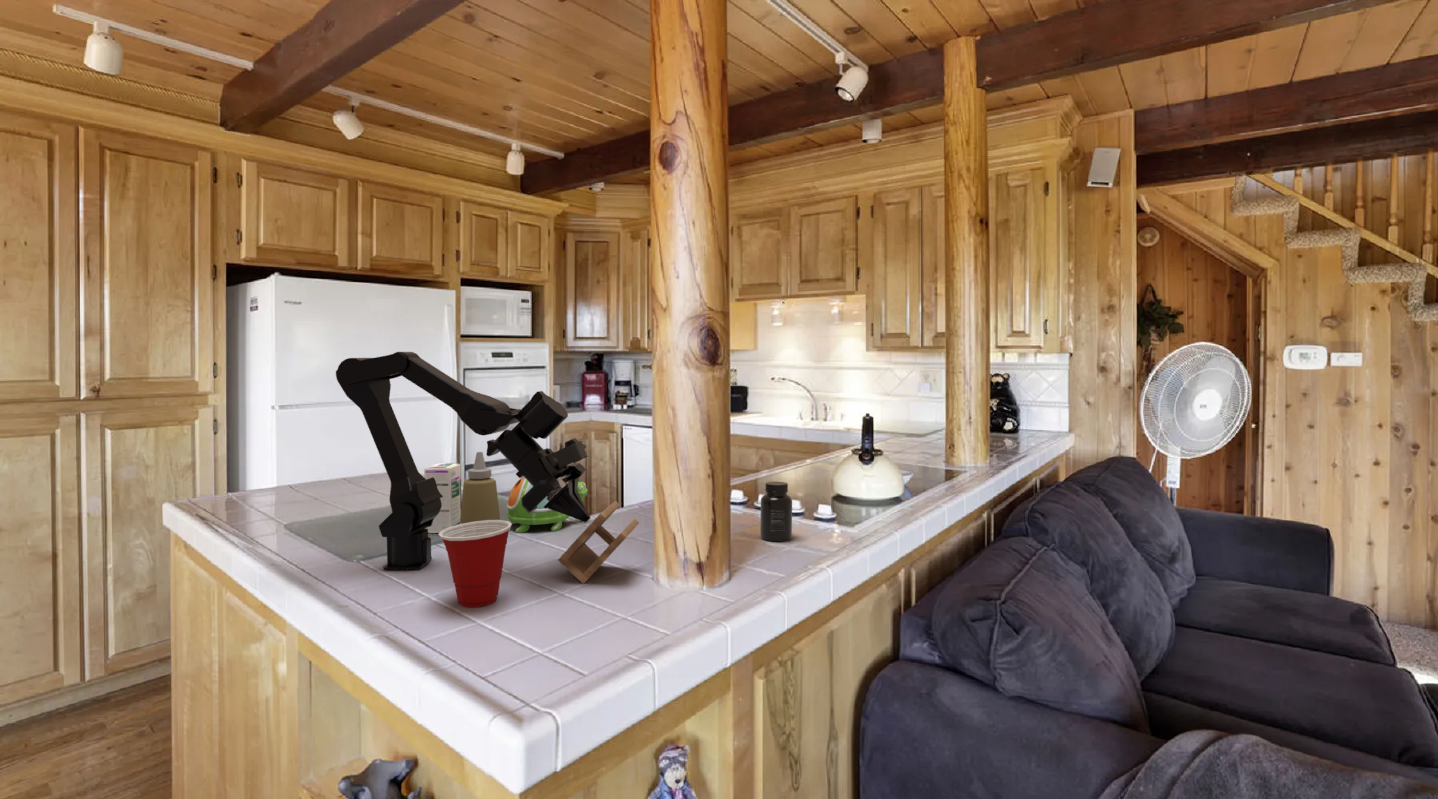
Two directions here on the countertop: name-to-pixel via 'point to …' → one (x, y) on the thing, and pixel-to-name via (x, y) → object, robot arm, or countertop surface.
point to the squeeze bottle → (479, 494)
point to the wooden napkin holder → (582, 557)
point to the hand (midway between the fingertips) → (588, 520)
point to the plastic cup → (476, 559)
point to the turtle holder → (540, 514)
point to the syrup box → (446, 494)
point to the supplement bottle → (776, 513)
